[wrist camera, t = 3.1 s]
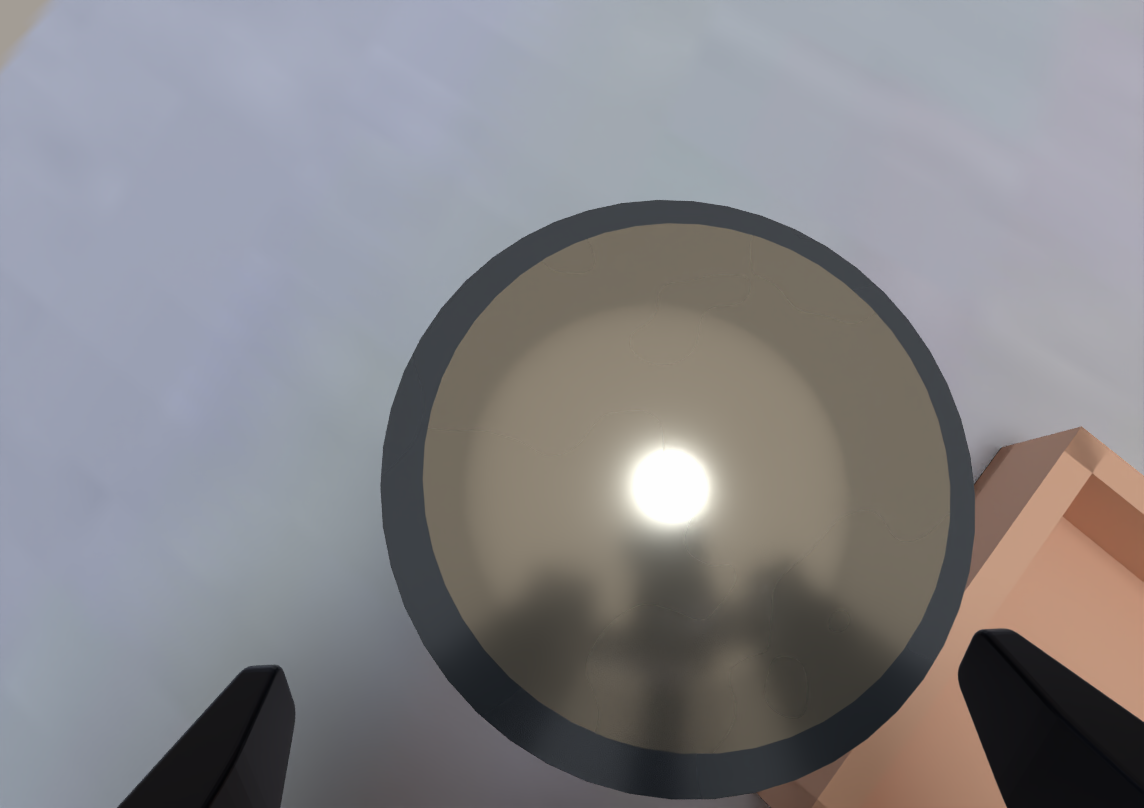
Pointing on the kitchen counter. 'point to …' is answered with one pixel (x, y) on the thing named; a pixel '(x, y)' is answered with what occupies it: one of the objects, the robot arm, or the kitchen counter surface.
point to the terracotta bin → (1013, 622)
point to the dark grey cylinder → (678, 499)
